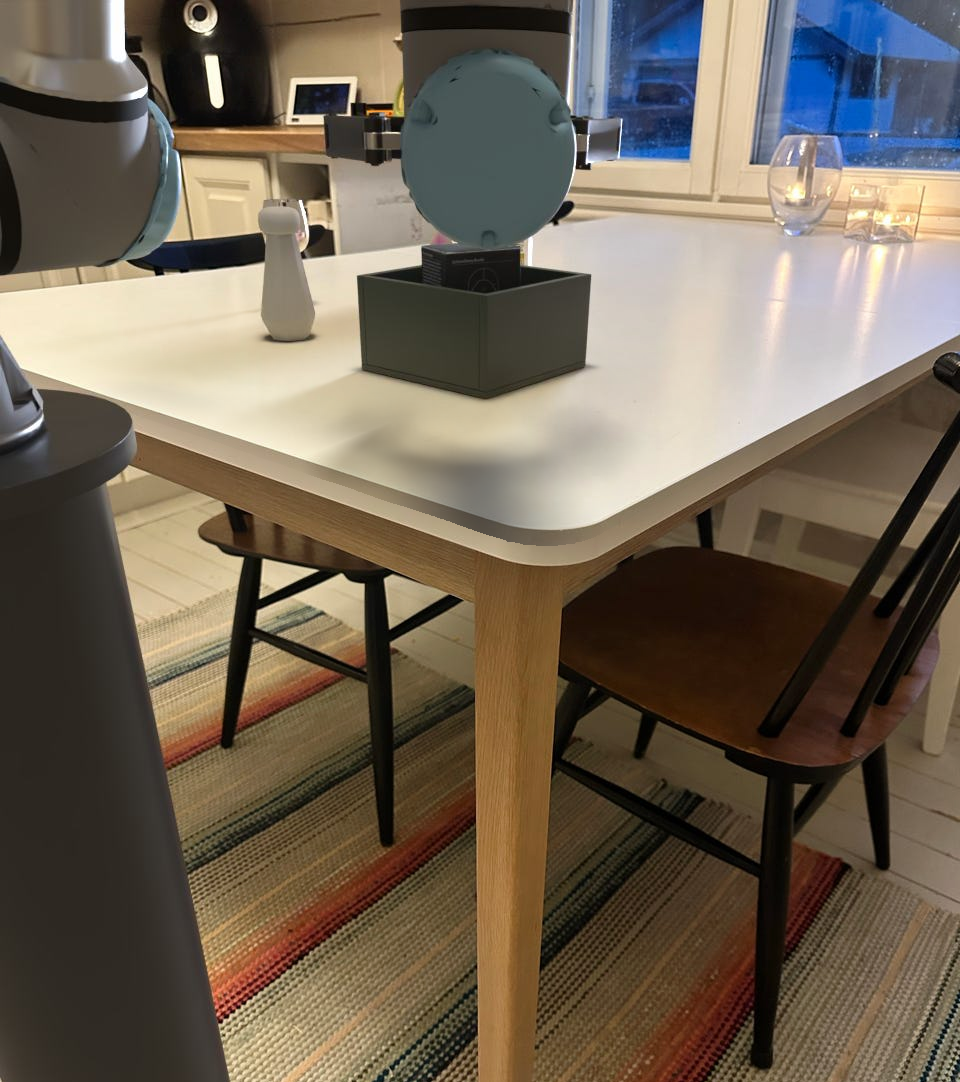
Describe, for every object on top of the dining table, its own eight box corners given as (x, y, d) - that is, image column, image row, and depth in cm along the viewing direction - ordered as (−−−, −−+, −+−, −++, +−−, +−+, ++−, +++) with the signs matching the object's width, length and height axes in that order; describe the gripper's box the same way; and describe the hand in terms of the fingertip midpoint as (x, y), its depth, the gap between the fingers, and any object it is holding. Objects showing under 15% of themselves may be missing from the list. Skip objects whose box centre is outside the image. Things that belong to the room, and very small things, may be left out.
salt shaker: (324, 339, 100) (315, 208, 93) (274, 345, 97) (260, 210, 91) (305, 329, 104) (294, 203, 98) (256, 334, 102) (242, 205, 95)
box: (492, 351, 93) (494, 239, 88) (519, 364, 89) (523, 246, 83) (422, 359, 90) (419, 243, 85) (446, 372, 86) (445, 251, 80)
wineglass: (267, 300, 120) (257, 198, 113) (311, 298, 121) (303, 198, 115) (271, 308, 115) (260, 203, 109) (317, 306, 116) (309, 202, 110)
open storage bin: (361, 369, 89) (356, 275, 85) (465, 342, 99) (465, 257, 95) (486, 399, 80) (487, 295, 76) (585, 366, 91) (591, 274, 86)
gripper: (261, 216, 53) (309, 187, 71) (692, 220, 53) (629, 190, 72) (246, 62, 49) (300, 73, 67) (710, 69, 50) (639, 78, 68)
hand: (470, 133), depth 69 cm, fingers open, 13 cm apart
